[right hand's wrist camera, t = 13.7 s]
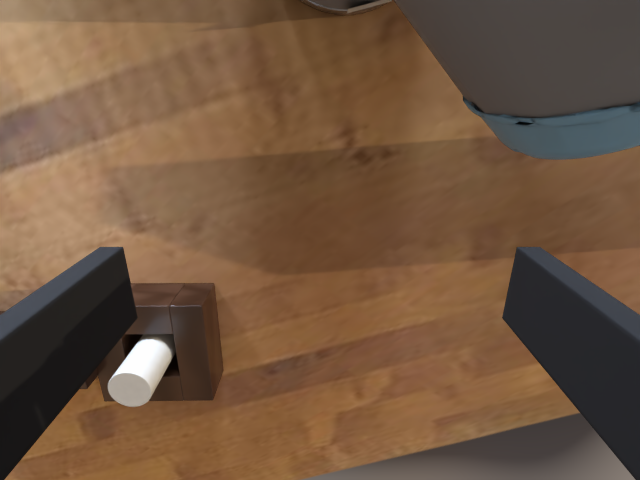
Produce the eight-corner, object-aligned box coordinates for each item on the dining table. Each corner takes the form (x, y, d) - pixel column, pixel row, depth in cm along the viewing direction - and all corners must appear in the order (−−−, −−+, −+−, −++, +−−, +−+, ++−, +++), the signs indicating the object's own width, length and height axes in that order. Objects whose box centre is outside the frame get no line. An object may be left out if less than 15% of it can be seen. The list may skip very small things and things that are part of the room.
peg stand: (-39, 371, 45) (-99, 417, 39) (-75, 284, 41) (-148, 318, 35) (223, 370, 46) (208, 414, 39) (214, 283, 42) (195, 316, 35)
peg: (149, 314, 43) (103, 372, 34) (184, 313, 43) (148, 372, 34) (154, 343, 44) (111, 407, 35) (188, 342, 44) (154, 406, 35)
